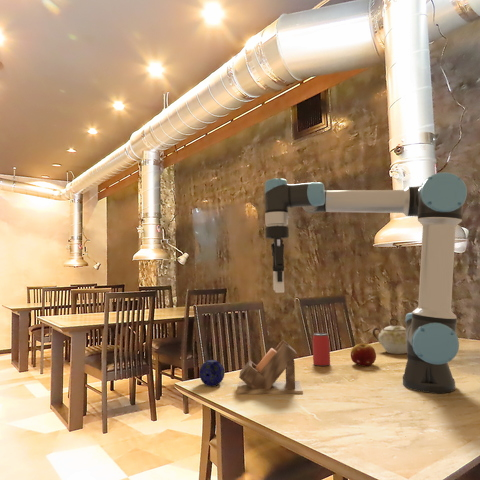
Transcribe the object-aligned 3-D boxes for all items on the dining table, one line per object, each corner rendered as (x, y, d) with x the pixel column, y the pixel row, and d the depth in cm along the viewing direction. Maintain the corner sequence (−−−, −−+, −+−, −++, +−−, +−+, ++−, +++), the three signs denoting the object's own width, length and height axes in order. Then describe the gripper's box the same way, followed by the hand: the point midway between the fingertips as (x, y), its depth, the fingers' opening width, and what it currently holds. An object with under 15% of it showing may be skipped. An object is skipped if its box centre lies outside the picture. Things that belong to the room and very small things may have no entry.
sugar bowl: (370, 353, 179) (368, 319, 180) (376, 347, 192) (375, 315, 193) (418, 357, 169) (416, 321, 171) (421, 350, 182) (420, 317, 184)
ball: (206, 380, 139) (206, 358, 140) (227, 381, 137) (226, 359, 138) (196, 386, 132) (196, 363, 132) (218, 388, 130) (218, 364, 130)
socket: (237, 399, 123) (236, 345, 124) (238, 389, 134) (238, 339, 135) (303, 399, 122) (301, 344, 124) (299, 388, 133) (297, 338, 135)
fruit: (355, 368, 153) (354, 346, 153) (348, 362, 162) (347, 342, 162) (380, 367, 153) (379, 346, 154) (371, 362, 162) (370, 342, 163)
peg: (258, 387, 127) (282, 358, 127) (249, 381, 126) (273, 351, 126) (255, 381, 131) (278, 352, 131) (246, 375, 130) (269, 346, 130)
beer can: (325, 367, 155) (324, 335, 156) (310, 365, 159) (309, 334, 160) (333, 364, 160) (331, 333, 161) (317, 362, 164) (316, 332, 165)
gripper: (291, 221, 120) (293, 293, 118) (285, 229, 144) (287, 289, 143) (266, 222, 120) (268, 293, 118) (264, 230, 145) (266, 289, 143)
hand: (278, 291), depth 131 cm, fingers open, 13 cm apart
